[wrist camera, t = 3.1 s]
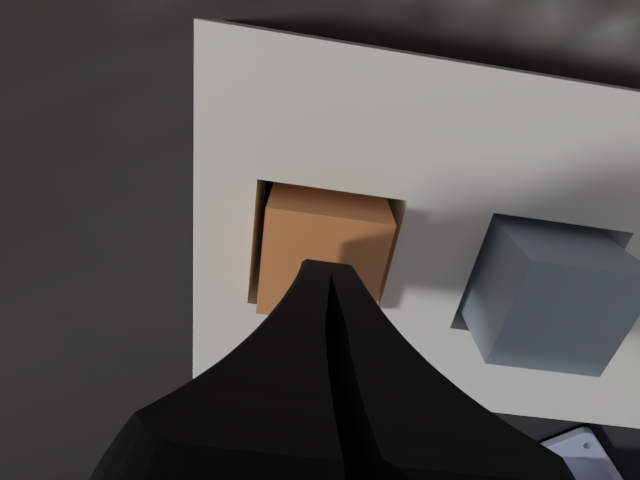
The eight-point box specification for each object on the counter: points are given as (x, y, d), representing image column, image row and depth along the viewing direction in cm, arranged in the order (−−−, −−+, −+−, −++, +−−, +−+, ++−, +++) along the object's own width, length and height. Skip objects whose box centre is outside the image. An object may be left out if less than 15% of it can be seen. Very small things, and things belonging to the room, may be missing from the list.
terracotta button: (382, 187, 14) (396, 225, 11) (362, 275, 15) (369, 327, 13) (276, 172, 14) (265, 207, 11) (267, 263, 15) (255, 313, 13)
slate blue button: (595, 228, 13) (663, 278, 11) (550, 315, 15) (599, 377, 12) (489, 213, 13) (532, 260, 10) (456, 303, 15) (485, 363, 12)
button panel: (876, 128, 14) (1008, 152, 11) (679, 382, 19) (736, 439, 17) (221, 20, 12) (194, 18, 10) (212, 326, 18) (192, 378, 15)
